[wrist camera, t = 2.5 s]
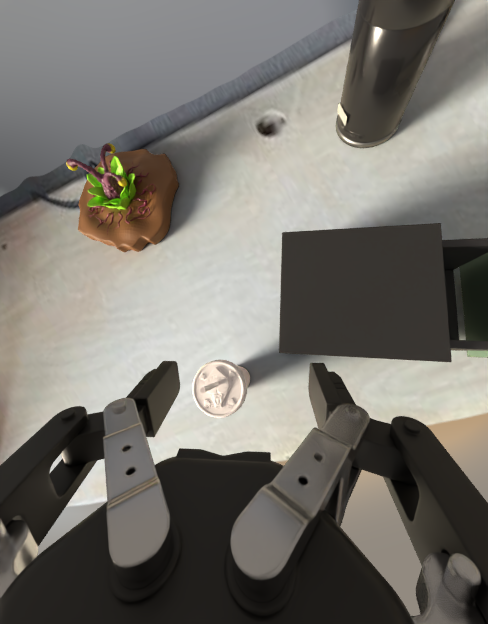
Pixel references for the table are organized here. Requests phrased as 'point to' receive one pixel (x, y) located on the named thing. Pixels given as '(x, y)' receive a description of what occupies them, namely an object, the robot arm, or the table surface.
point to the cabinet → (365, 293)
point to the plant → (127, 198)
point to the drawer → (468, 293)
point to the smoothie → (220, 388)
